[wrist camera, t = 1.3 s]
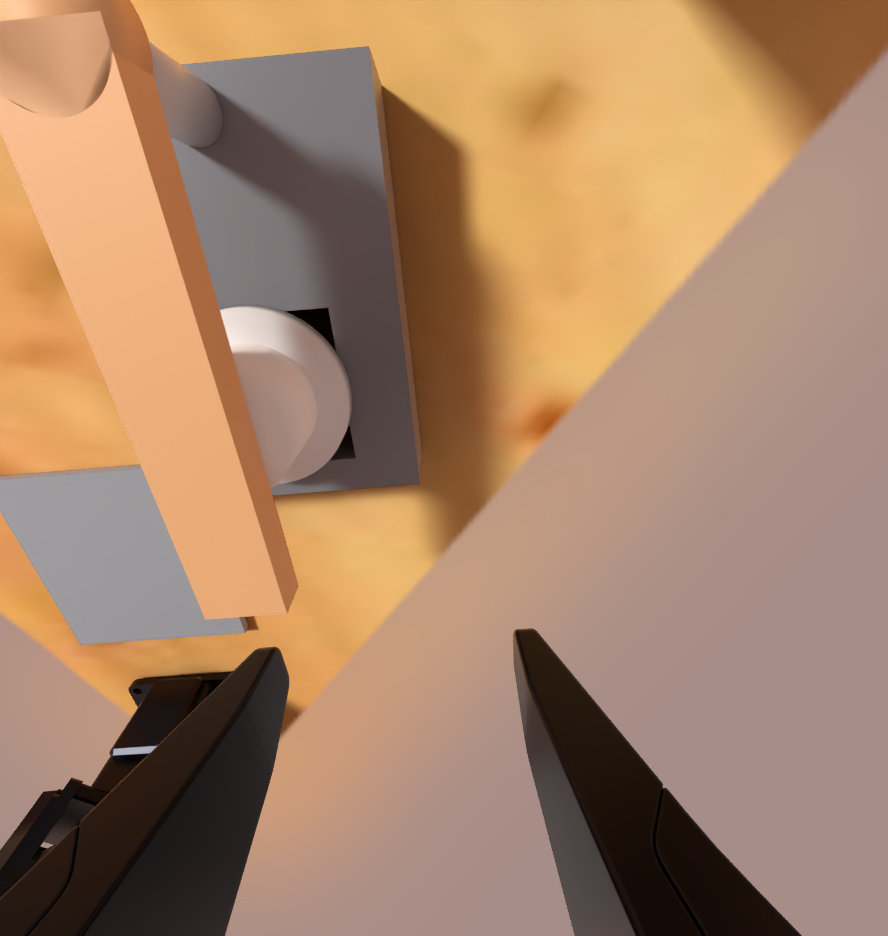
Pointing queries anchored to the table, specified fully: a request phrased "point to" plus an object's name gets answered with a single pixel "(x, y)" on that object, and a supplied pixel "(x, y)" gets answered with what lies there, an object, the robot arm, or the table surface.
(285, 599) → the light orange flat bar
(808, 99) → the table surface
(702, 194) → the table surface
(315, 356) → the plug
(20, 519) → the mat
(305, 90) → the socket base
